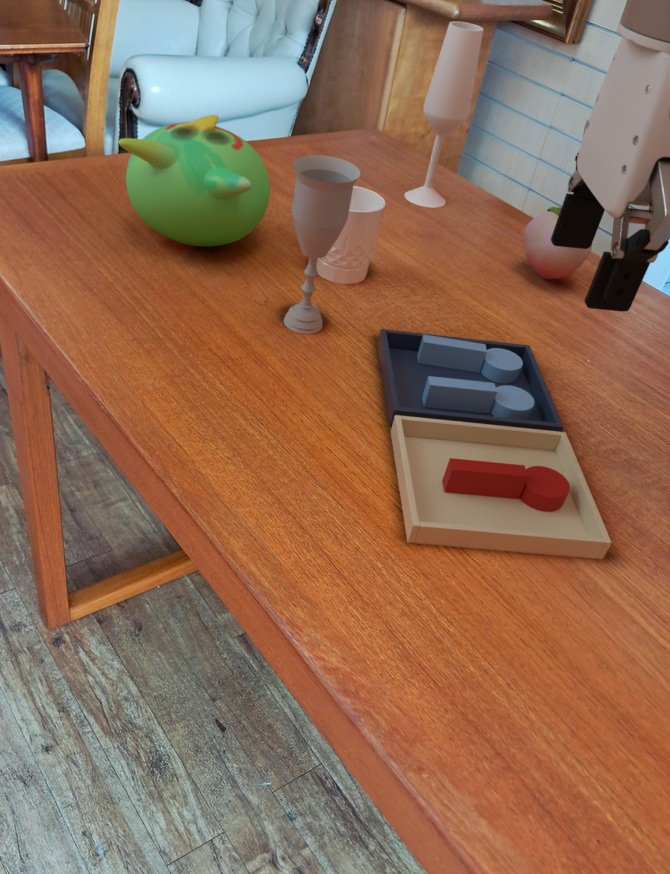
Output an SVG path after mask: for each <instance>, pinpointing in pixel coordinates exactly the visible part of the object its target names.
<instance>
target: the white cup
mask: <svg viewBox="0 0 670 874" xmlns="http://www.w3.org/2000/svg"><path fill="white" fill-rule="evenodd" d="M386 204H387V203H386V200H385V199H384V197H383V196H381V194H379V193H377V192H376V191H373V190H372V189H369V188H365V187H363V186H358V185H353V191H352V197H351V202H350V208H349V213H348V219H347V222H346V224H345V226H344V228H343V230H342V232H341V233H340V235H339V237H338V239H337V240H336V242H335V243H334V245H333V246H332V247H331V249H330V250H329V252H328V253H327V255H326V256H324V257H322V258H318V260H317V262H316V269H317V272H318V275H317V276H320V277H321V278H322V279H324V280H326V281H329V282H331V283H334V284H335V283H336V284H341V285H349V284H350V285H355V284H358V283H360V282H364V280H365V279H366V277H367V275H368V271H369V267H370V262H371V261H372V258H373V253H374V251H375V247H376V243H377V240H378V236H379V232H380V228H381V223H382V219H383V215H384V212H385V209H386Z"/></svg>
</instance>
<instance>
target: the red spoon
mask: <svg viewBox="0 0 670 874" xmlns="http://www.w3.org/2000/svg"><path fill="white" fill-rule="evenodd" d="M442 483H443V487H444V492H447V493H458V494H469V495H479V496H490V497H501V498H512V499H519V498H520V499H521V500H522V501H523V502H524V503H525V504H526V505H528V506H530V507H531V508H534V509H536V510H539V511H544V512H552V511H556V510H558V509H560V508H561V507H562V506H563V504H564V502H565V500H566V498H567V496H568V493H569V491H570V485H569V482H568V481H567V479H566V478H565V477H564V476H563V475H562V474H560V473H559V472H557V471H556V470H553V469H551V468H548V467H544V466H532V467H529V468H527V469H526V468H525V465H516V464H506V463H496V462H485V461H475V460H465V459H454V458H450V459H449V462H448V465H447V468H446V471H445V474H444V477H443V480H442Z"/></svg>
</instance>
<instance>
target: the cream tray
mask: <svg viewBox="0 0 670 874" xmlns="http://www.w3.org/2000/svg"><path fill="white" fill-rule="evenodd" d="M390 428H391V429H390V439H391V443H392V450H393V456H394V457H393V458H394V463H395V471H396V476H397V483H398V489H399V495H400V502H401V511H402V515H403V522H404V529H405V534H406V535H405V537H406V541H407V543H409V544H418V545H419V544H420V545H421V544H422V545H430V546H431V545H432V546H444V547H455V548H466V549H476V550H477V549H478V550H488V551H489V550H490V551H500V552H511V553H512V552H513V553H522V554H523V553H525V554H535V555H547V556H559V557H572V558H583V559H594V560H603V559H604V558H605V556H606V554H607V553H608V550H609V549H610V547H611V545H612V543H613V542H612V539H611V537H610V534H609V533H608V530H607V528H606V525H605V523H604V520H603V518H602V516H601V514H600V511H599V508H598V507H597V504H596V502H595V499H594V496H593V493H592V492H591V489H590V487H589V484H588V482H587V480H586V478H585V475H584V472H583V470H582V468H581V465H580V463H579V461H578V458H577V456H576V453H575V451H574V448H573V446H572V444H571V442H570V439H569V436H568V434H567V432H566V431H562V432H558V431H548V430H538V429H528V428H518V427H508V426H499V425H489V424H479V423H469V422H459V421H449V420H439V419H429V418H419V417H409V416H399V415H395V417H394V421H393V424H392V427H390ZM450 458H454V459H465V460H475V461H485V462H496V463H506V464H516V465H525V468H526V469H527V468H529V467H532V466H544V467H548V468H551V469H553V470H556V471H557V472H559V473H560V474H562V475H563V476H564V477H565V478H566V479H567V481H568V482H569V485H570V491H569V493H568V496H567V498H566V500H565V502H564V504H563V506H562V507H561V508H560V509H558V510H556V511H552V512H544V511H539V510H536V509H534V508H531V507H530V506H528V505H526V504H525V503H524V502H523V501H522V500H521V499H520V498H519V499H512V498H501V497H490V496H479V495H469V494H458V493H447V492H444V487H443V483H442V480H443V477H444V474H445V471H446V468H447V465H448V462H449V459H450Z"/></svg>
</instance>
